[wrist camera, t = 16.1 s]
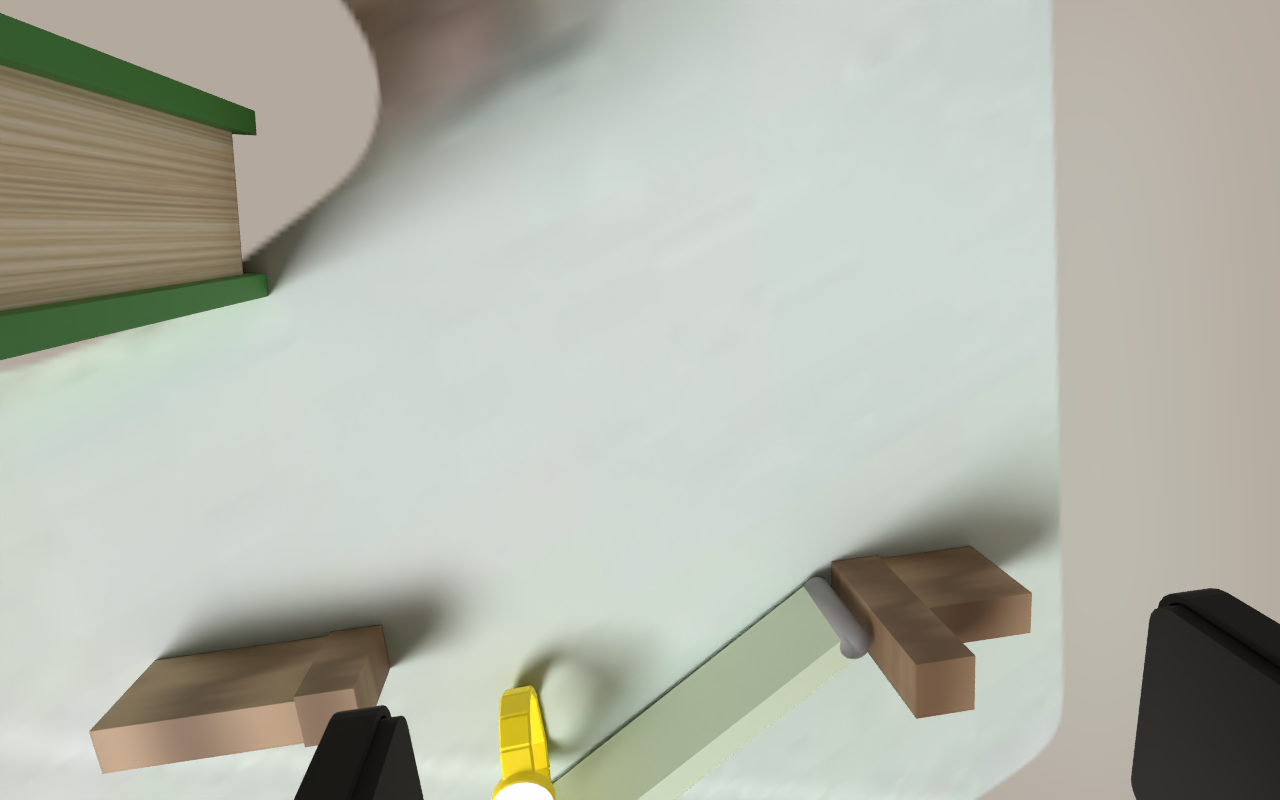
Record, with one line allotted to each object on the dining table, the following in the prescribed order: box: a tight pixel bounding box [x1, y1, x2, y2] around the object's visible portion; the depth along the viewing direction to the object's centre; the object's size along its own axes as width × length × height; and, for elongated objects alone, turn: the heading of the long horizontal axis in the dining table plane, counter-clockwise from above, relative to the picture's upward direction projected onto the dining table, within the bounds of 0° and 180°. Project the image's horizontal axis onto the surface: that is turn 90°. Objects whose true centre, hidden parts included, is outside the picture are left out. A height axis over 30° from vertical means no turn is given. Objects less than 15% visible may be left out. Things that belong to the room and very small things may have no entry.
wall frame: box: [89, 546, 1032, 774], centre depth 32 cm, size 40×2×9 cm, turn 95°
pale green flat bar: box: [553, 577, 871, 800], centre depth 35 cm, size 22×2×5 cm, turn 129°
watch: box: [492, 685, 556, 800], centre depth 34 cm, size 6×3×6 cm, turn 8°
